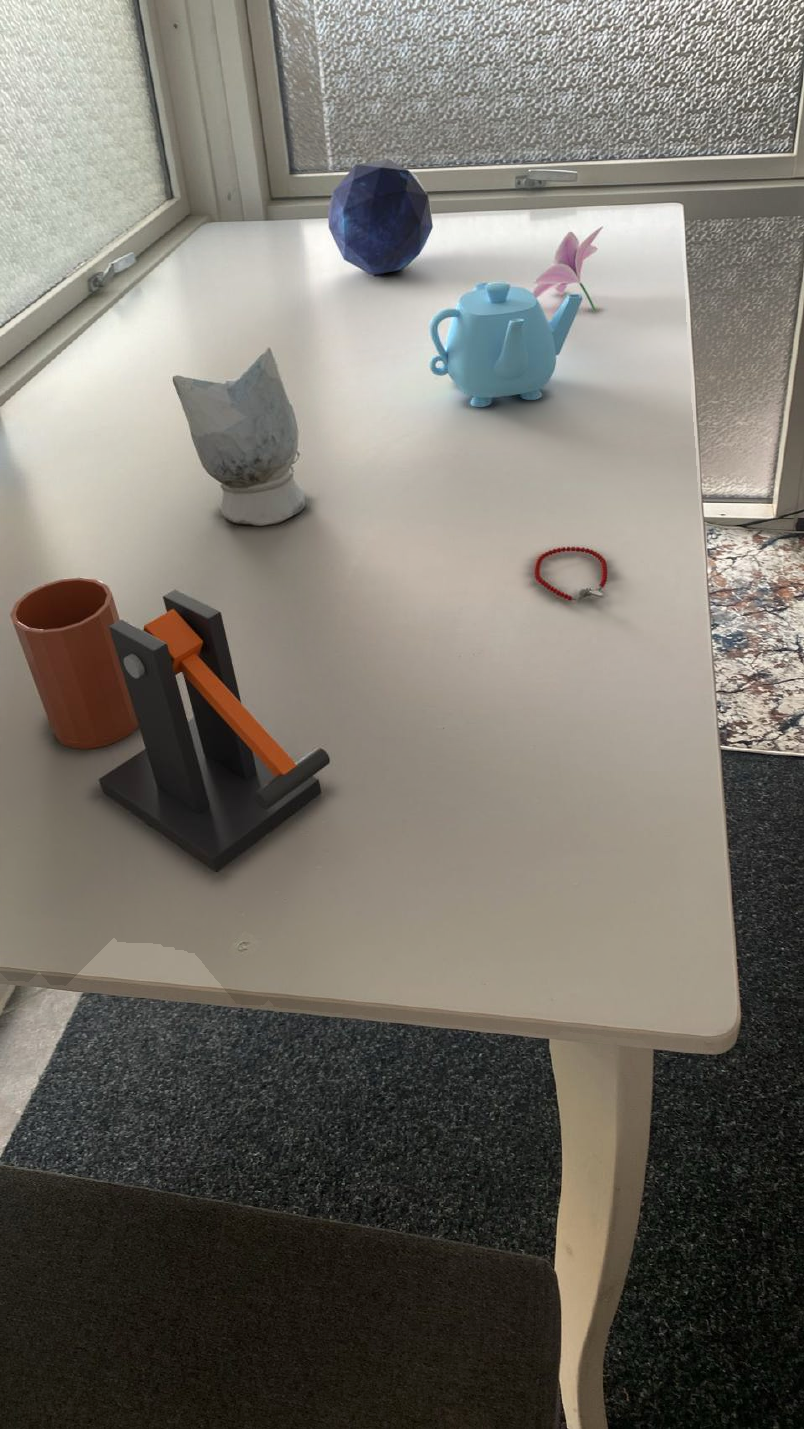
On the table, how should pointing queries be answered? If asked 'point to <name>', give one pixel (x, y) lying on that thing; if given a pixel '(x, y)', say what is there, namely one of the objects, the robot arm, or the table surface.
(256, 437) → the figurine
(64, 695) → the cup
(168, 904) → the table surface
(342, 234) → the decorative orb
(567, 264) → the lily
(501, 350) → the teapot
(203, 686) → the switch lever
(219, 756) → the pivoting lever stand
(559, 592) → the red beaded bracelet
